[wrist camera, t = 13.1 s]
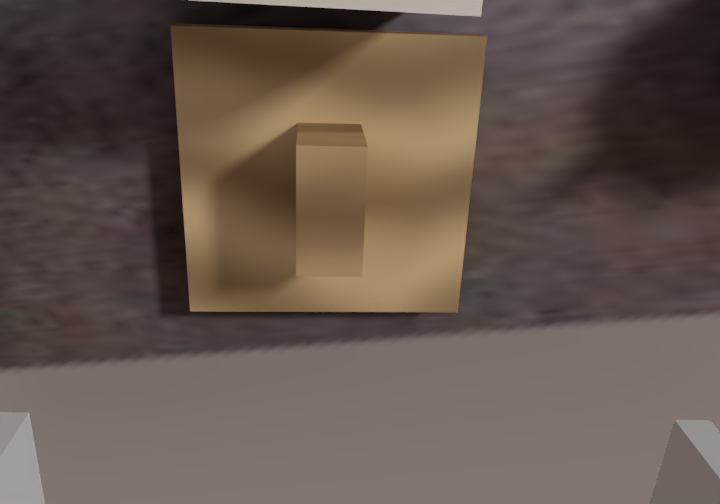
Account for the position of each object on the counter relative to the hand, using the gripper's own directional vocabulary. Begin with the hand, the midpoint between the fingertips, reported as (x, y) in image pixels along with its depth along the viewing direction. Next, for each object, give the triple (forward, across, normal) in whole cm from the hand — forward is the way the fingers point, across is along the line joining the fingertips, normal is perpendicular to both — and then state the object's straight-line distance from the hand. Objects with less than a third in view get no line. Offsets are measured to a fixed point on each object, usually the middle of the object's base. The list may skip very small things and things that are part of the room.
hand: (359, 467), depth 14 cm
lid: (+22, 0, -1) cm, 22 cm away
